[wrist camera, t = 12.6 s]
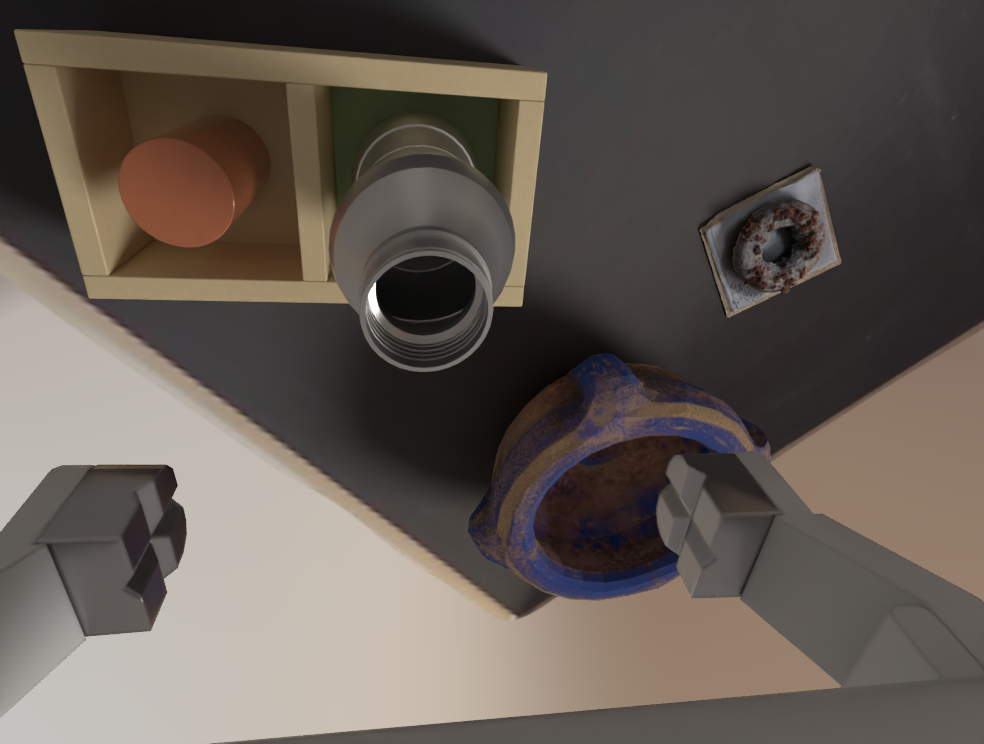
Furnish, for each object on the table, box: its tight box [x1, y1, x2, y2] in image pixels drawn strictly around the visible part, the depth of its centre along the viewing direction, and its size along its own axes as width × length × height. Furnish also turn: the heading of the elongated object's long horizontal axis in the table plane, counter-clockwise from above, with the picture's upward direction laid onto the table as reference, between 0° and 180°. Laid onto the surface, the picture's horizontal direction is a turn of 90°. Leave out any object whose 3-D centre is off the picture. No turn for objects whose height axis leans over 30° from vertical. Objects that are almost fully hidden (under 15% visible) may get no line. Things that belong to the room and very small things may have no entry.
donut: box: [700, 167, 841, 317], centre depth 39 cm, size 8×8×2 cm
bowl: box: [468, 353, 770, 601], centre depth 41 cm, size 18×18×10 cm
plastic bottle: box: [328, 112, 515, 372], centre depth 24 cm, size 6×7×20 cm
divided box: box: [14, 29, 547, 307], centre depth 30 cm, size 11×22×7 cm, turn 86°
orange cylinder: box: [118, 115, 271, 247], centre depth 28 cm, size 5×5×8 cm
